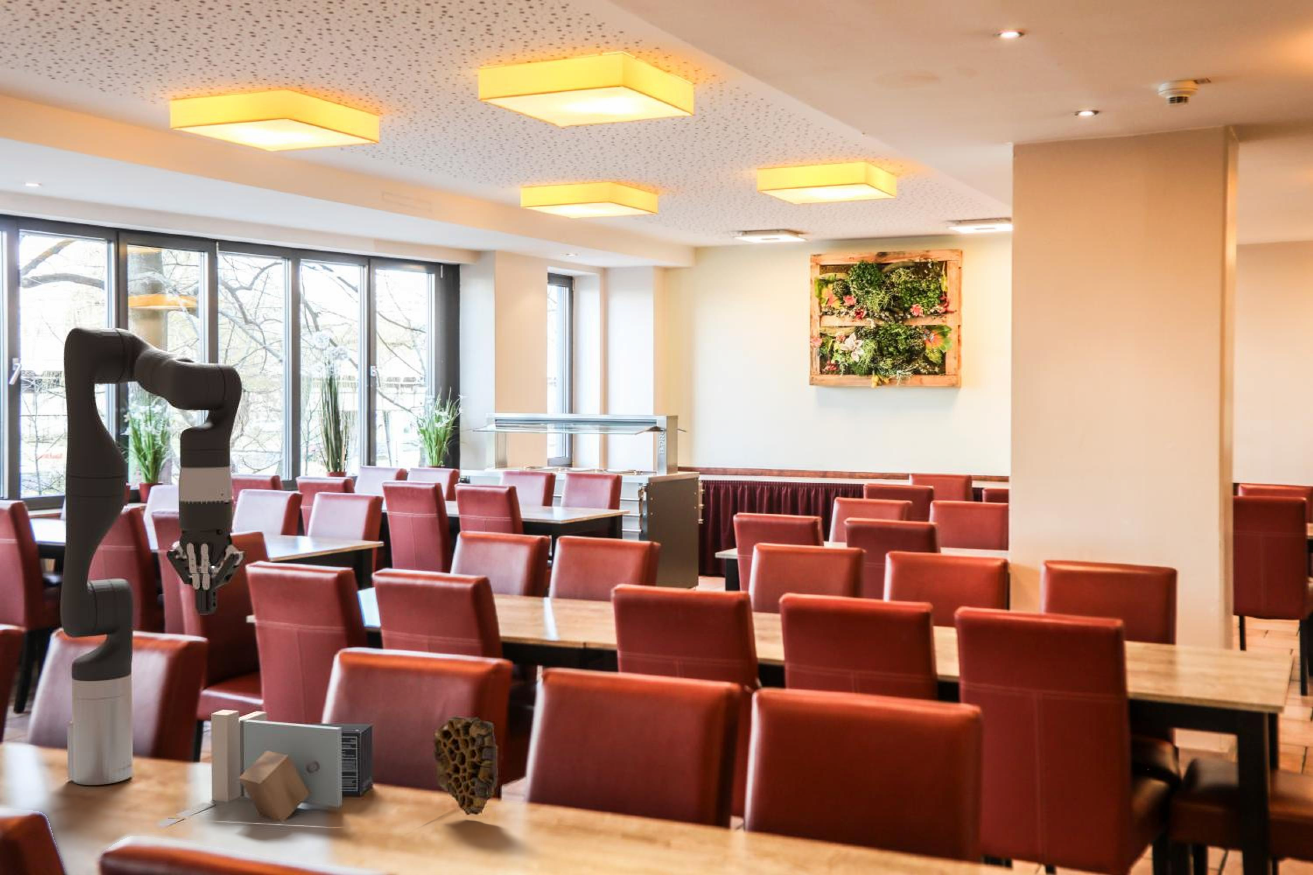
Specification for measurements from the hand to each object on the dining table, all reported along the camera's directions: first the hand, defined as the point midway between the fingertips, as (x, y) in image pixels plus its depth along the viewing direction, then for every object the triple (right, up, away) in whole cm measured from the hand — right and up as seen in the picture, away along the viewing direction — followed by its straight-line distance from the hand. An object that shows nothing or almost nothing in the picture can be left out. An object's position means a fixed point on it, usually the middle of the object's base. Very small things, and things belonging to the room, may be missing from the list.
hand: (206, 613), depth 189 cm
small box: (+15, -32, +19) cm, 40 cm away
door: (+9, -31, +9) cm, 33 cm away
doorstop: (+7, -28, +2) cm, 29 cm away
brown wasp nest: (+38, -32, +6) cm, 50 cm away
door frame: (-4, -32, +7) cm, 33 cm away
